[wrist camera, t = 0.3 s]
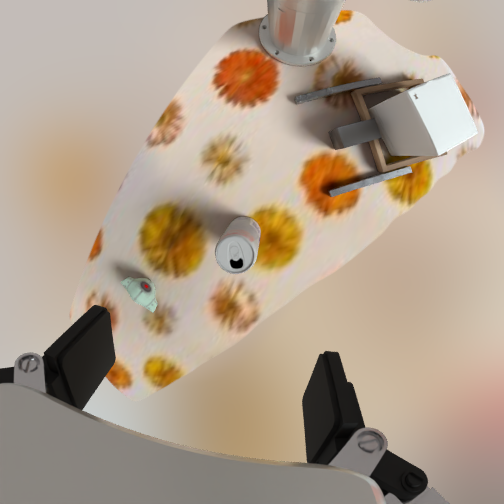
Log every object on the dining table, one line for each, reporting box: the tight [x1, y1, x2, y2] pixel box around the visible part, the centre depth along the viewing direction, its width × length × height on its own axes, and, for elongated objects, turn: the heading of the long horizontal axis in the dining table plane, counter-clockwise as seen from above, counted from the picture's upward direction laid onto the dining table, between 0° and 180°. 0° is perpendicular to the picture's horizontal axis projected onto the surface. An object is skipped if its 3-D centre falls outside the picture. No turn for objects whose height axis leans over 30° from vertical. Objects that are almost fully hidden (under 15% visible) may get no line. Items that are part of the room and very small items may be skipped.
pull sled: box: [329, 79, 447, 172], centre depth 36 cm, size 14×20×6 cm
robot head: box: [121, 277, 157, 313], centre depth 47 cm, size 8×4×7 cm, turn 45°
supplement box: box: [368, 73, 478, 156], centre depth 31 cm, size 9×9×15 cm
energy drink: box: [215, 217, 261, 274], centre depth 40 cm, size 5×5×12 cm
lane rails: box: [295, 78, 412, 197], centre depth 39 cm, size 17×15×2 cm
